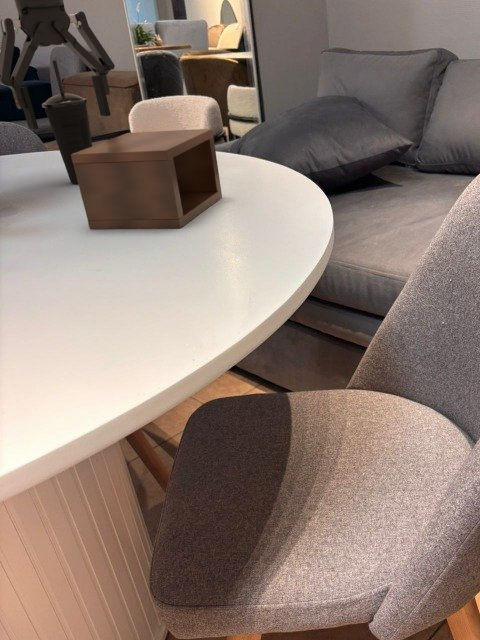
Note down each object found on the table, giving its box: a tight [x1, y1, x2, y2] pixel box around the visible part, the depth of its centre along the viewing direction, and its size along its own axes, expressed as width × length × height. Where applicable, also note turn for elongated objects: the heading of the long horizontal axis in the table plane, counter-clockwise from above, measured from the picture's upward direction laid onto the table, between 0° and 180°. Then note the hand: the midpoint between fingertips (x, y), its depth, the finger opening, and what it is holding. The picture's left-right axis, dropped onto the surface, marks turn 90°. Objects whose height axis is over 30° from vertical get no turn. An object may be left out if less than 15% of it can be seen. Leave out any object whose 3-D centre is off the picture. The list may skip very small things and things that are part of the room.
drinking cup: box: [41, 60, 93, 185], centre depth 114 cm, size 8×8×20 cm
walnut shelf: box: [71, 128, 223, 230], centre depth 92 cm, size 14×16×10 cm
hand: (70, 122), depth 114 cm, fingers open, 13 cm apart
